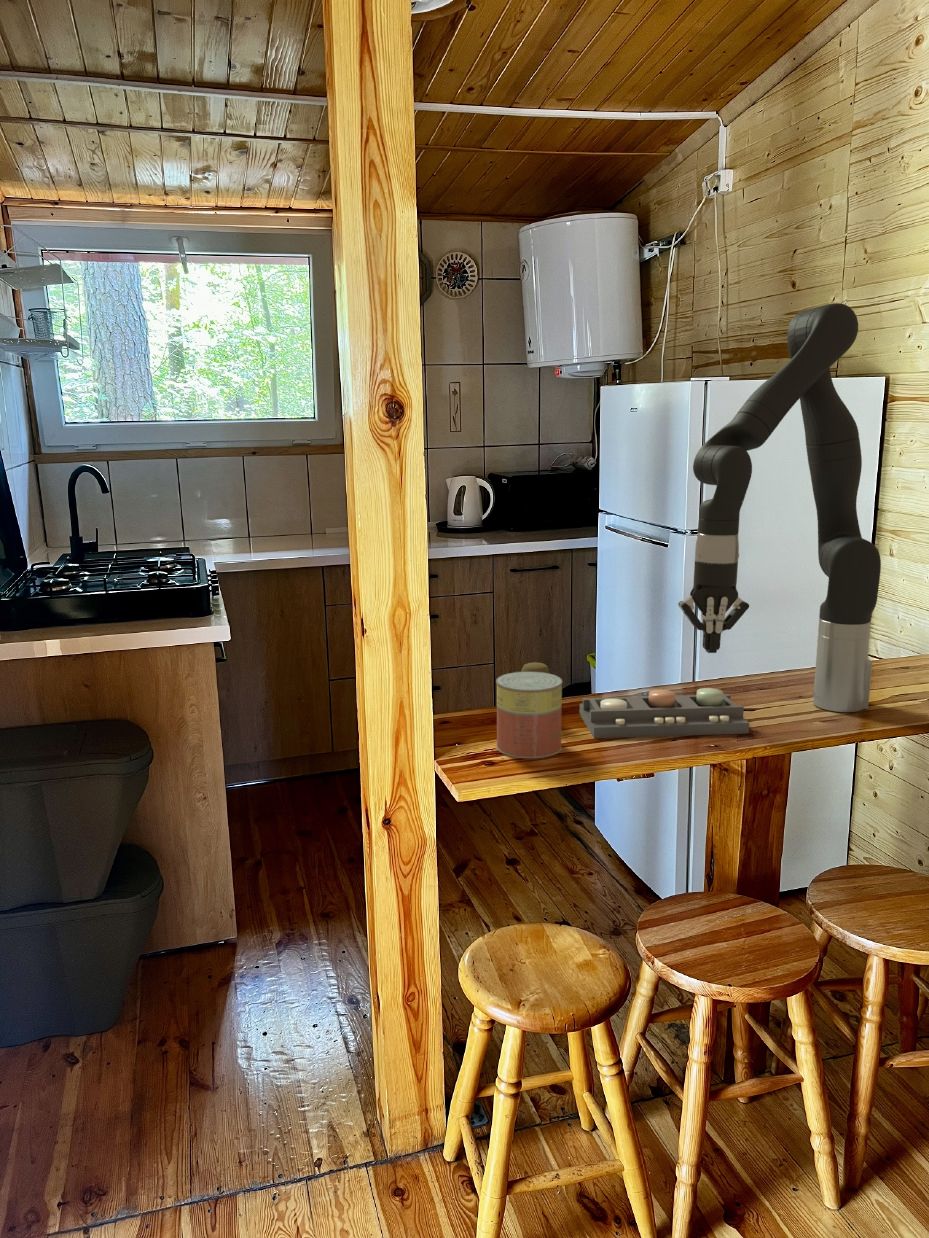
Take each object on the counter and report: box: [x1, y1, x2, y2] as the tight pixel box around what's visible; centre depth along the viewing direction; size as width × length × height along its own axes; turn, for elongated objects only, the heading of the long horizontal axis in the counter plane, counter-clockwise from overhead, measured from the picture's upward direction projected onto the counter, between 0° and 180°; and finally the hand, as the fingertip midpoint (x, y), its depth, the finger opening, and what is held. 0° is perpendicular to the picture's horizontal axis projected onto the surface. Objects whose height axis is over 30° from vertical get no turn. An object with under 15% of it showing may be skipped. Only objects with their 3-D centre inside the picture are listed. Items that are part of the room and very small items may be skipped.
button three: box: [648, 688, 676, 708], centre depth 171 cm, size 5×5×2 cm
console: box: [579, 693, 750, 739], centre depth 171 cm, size 28×14×4 cm, turn 94°
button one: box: [600, 699, 627, 710], centre depth 171 cm, size 5×5×2 cm
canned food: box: [495, 671, 563, 759], centre depth 159 cm, size 11×11×12 cm
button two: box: [696, 687, 725, 706], centre depth 171 cm, size 5×5×2 cm
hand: (710, 651), depth 170 cm, fingers closed
